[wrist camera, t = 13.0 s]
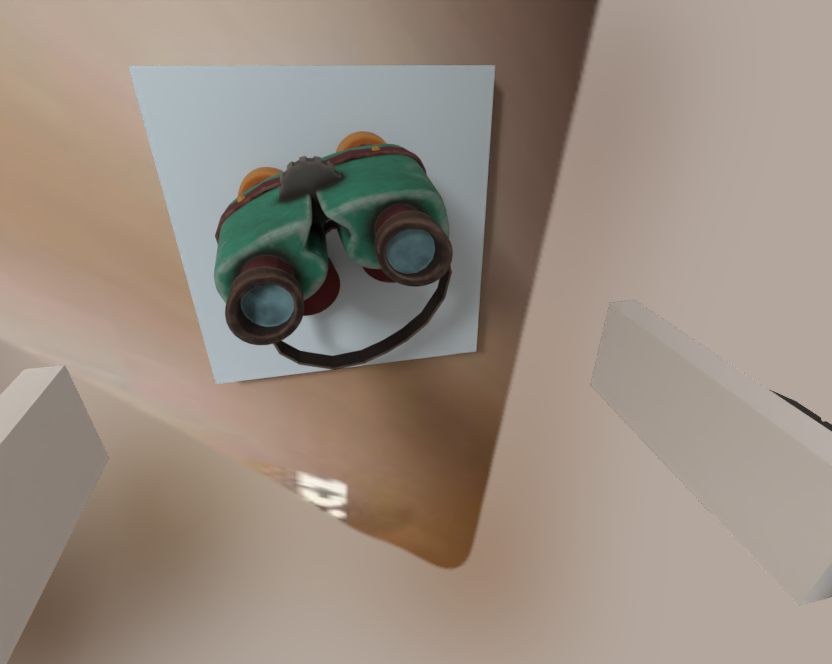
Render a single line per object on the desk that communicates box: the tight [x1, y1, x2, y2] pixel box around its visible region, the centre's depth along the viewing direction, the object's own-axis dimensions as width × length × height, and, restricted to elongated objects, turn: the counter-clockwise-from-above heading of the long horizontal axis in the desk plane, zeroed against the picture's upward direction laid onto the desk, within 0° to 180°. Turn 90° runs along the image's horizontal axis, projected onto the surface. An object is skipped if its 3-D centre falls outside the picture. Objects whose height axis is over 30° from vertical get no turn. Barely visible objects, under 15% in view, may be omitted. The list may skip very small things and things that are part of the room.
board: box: [128, 65, 495, 384], centre depth 23 cm, size 15×15×2 cm
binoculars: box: [214, 131, 453, 370], centre depth 18 cm, size 9×11×10 cm
